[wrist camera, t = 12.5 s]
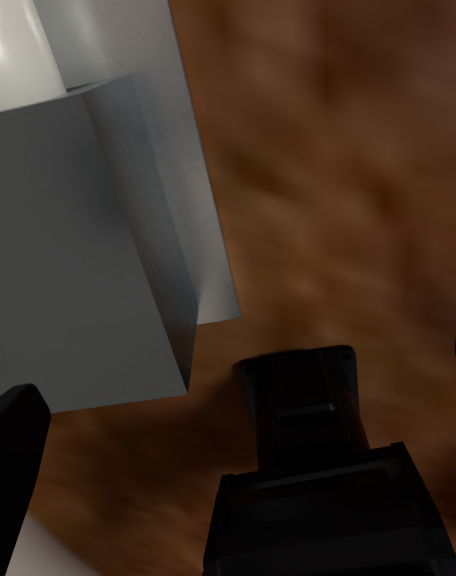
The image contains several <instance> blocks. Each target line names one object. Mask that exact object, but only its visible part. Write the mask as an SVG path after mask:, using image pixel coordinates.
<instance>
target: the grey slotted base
mask: <svg viewBox="0 0 456 576" xmlns="http://www.w3.org/2000/svg"><path fill="white" fill-rule="evenodd" d="M33 2H34V5H35V7H36V10H37V13H38V16H39V18H40V21H41V24H42V26H43V29H44V32H45V34H46V37H47V40H48V43H49V45H50V48H51V51H52V53H53V56H54V59H55V61H56V64H57V67H58V70H59V72H60V75H61V78H62V80H63V83H64V86H65V88H66V91H67V93H65V94H62V95H60V96H57V97H54V98H51V99H48V100H44V101H40V102H35V103H31V104H27V105H22V106H18V107H14V108H10V109H5V110H1V111H0V396H1V395H2V394H3V393H5V392H6V391H7V390H9V389H10V388H11V387H13V386H15V385H20V384H27V383H32V384H34V385H35V386H36V387H37V388H38V390H39V391H40V393H41V395H42V396H43V398H44V400H45V401H46V403H47V405H48V407H49V409H50V412H51V413H57V412H65V411H72V410H79V409H86V408H93V407H100V406H107V405H115V404H122V403H129V402H136V401H143V400H150V399H158V398H165V397H172V396H179V395H186V394H188V389H189V381H190V373H191V366H192V358H193V350H194V342H195V335H196V327H197V324H204V323H210V322H216V321H222V320H229V319H235V318H241V311H240V306H239V302H238V298H237V293H236V289H235V285H234V280H233V276H232V272H231V267H230V263H229V259H228V254H227V250H226V246H225V241H224V237H223V233H222V228H221V224H220V219H219V215H218V211H217V206H216V202H215V198H214V193H213V189H212V185H211V180H210V176H209V172H208V167H207V163H206V159H205V154H204V150H203V146H202V141H201V137H200V133H199V128H198V124H197V120H196V115H195V111H194V107H193V102H192V98H191V94H190V89H189V85H188V80H187V76H186V72H185V67H184V63H183V59H182V54H181V50H180V46H179V41H178V37H177V33H176V28H175V24H174V20H173V15H172V11H171V7H170V2H169V0H33Z"/></svg>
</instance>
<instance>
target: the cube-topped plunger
mask: <svg viewBox="0 0 456 576" xmlns="http://www.w3.org/2000/svg"><path fill="white" fill-rule="evenodd" d="M65 93H67V91H66V88H65V86H64V83H63V80H62V78H61V75H60V72H59V70H58V67H57V64H56V61H55V59H54V56H53V53H52V51H51V48H50V45H49V43H48V40H47V37H46V34H45V32H44V29H43V26H42V24H41V21H40V18H39V16H38V13H37V10H36V7H35V5H34V2H33V0H0V111H1V110H5V109H10V108H14V107H18V106H22V105H27V104H31V103H35V102H40V101H44V100H48V99H51V98H54V97H57V96H60V95H62V94H65Z"/></svg>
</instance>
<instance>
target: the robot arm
mask: <svg viewBox="0 0 456 576" xmlns="http://www.w3.org/2000/svg"><path fill="white" fill-rule="evenodd" d="M346 353H347V354H348V355H346V356H343V355H344V354H346ZM455 354H456V340H455ZM246 368H251V369H250V370H247V369H246ZM240 374H241V378H242V382H243V386H244V390H245V394H246V398H247V402H248V406H249V410H250V414H251V417H252V421H253V425H254V429H255V433H256V438H257V456H258V471H254V472H248V473H243V474H238V475H233V474H227V475H222V476H221V481H220V485H219V490H218V492H217V495H216V500H215V505H214V510H213V515H212V519H211V524H210V529H209V534H208V539H207V544H206V548H205V553H204V558H203V568H204V571H203V573H202V576H456V556H455V553H454V550H453V547H452V544H451V542H450V539H449V536H448V534H447V531H446V529H445V526H444V524H443V521H442V519H441V517H440V514H439V512H438V510H437V508H436V506H435V504H434V502H433V500H432V498H431V496H430V494H429V492H428V490H427V488H426V486H425V484H424V482H423V480H422V478H421V476H420V474H419V472H418V470H417V468H416V466H415V464H414V462H413V460H412V458H411V456H410V455H409V453H408V451H407V449H406V447H405V445H404V443H403V441H401V442H396V443H391V446H386V447H381V448H376V449H370V446H369V443H368V440H367V437H366V434H365V431H364V428H363V425H362V422H361V419H360V415H359V399H358V382H357V365H356V355H355V352H354V349H353V348H352V347H351V346H348V345H344V346H337V347H331V348H324V349H317V350H310V351H303V352H297V353H290V354H283V355H276V356H269V357H263V358H256V359H249V360H245V361H243V362H241V364H240ZM50 420H51V412H50V409H49V407H48V405H47V403H46V401H45V400H44V398H43V396H42V395H41V393H40V391H39V390H38V388H37V387H36V386H35V385H34V384H32V383H27V384H20V385H15V386H13V387H11V388H10V389H9V390H7V391H6V392H5V393H3V394H2V395H1V396H0V576H5V574H6V571H7V568H8V565H9V562H10V559H11V556H12V553H13V550H14V548H15V544H16V542H17V539H18V536H19V533H20V530H21V527H22V524H23V521H24V518H25V515H26V512H27V509H28V506H29V503H30V500H31V497H32V494H33V491H34V487H35V484H36V480H37V476H38V473H39V468H40V464H41V459H42V455H43V451H44V446H45V442H46V438H47V433H48V429H49V425H50Z"/></svg>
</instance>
